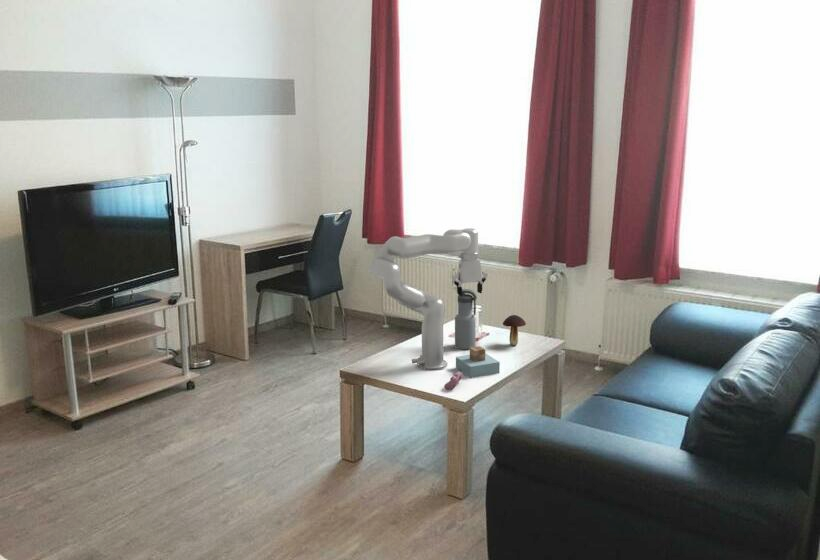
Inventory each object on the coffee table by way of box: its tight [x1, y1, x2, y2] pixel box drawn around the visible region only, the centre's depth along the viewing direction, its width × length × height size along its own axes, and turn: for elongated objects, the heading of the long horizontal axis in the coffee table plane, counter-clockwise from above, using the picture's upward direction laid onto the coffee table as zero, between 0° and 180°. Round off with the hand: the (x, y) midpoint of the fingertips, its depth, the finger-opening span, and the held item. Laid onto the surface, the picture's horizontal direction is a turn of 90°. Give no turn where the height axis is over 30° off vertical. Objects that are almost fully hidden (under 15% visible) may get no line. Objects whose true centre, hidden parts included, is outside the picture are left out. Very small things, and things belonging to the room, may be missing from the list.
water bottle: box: [454, 288, 478, 350], centre depth 351 cm, size 10×10×28 cm
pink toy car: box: [444, 371, 464, 390], centre depth 304 cm, size 10×5×7 cm, turn 159°
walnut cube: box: [469, 345, 486, 362], centre depth 321 cm, size 5×5×5 cm
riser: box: [455, 352, 501, 379], centre depth 322 cm, size 14×14×5 cm
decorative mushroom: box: [502, 314, 527, 346], centre depth 353 cm, size 11×11×15 cm
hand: (469, 293), depth 332 cm, fingers open, 9 cm apart
